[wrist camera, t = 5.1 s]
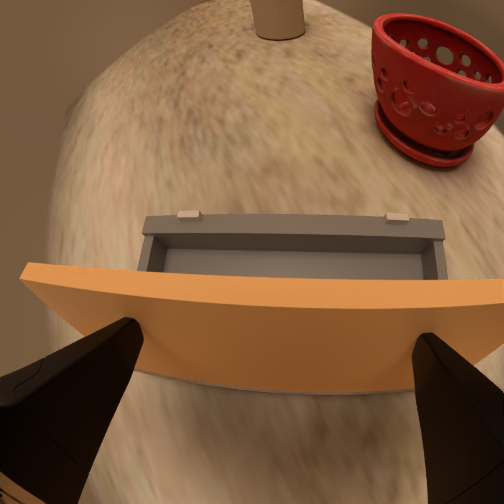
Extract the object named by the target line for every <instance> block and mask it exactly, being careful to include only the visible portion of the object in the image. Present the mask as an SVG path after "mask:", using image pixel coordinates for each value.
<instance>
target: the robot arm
mask: <svg viewBox="0 0 504 504" xmlns="http://www.w3.org/2000/svg"><path fill="white" fill-rule="evenodd" d="M143 342H144V336H143V333H142V330H141V327H140V324H139V323H138V322H137V321H136V320H135V319H134V318H129V317H123V318H121V319H119V320H117V321H115V322H113V323H111V324H109V325H108V326H106V327H104V328H102V329H100V330H98V331H96V332H94V333H92V334H90V335H88V336H86V337H84V338H82V339H80V340H78V341H76V342H74V343H72V344H70V345H68V346H66V347H64V348H62V349H60V350H58V351H56V352H54V353H52V354H50V355H48V356H46V357H45V358H42V359H40V360H38V361H36V362H34V363H32V364H30V365H28V366H26V367H24V368H21V369H19V370H17V371H14V372H12V373H9V374H7V375H4V376H2V377H0V504H78V501H79V499H80V496H81V493H82V490H83V488H84V485H85V483H86V480H87V478H88V475H89V472H90V470H91V467H92V465H93V462H94V460H95V458H96V455H97V453H98V450H99V448H100V446H101V443H102V441H103V439H104V436H105V434H106V432H107V429H108V427H109V425H110V423H111V420H112V418H113V416H114V414H115V411H116V409H117V407H118V405H119V403H120V400H121V398H122V396H123V394H124V392H125V390H126V388H127V385H128V383H129V381H130V379H131V376H132V374H133V371H134V368H135V365H136V362H137V359H138V357H139V354H140V351H141V348H142V346H143ZM412 366H413V375H414V386H415V397H416V404H417V410H418V415H419V421H420V428H421V434H422V441H423V449H424V457H425V467H426V478H427V493H428V504H504V393H503V391H502V390H501V389H500V388H499V387H497V386H496V385H495V384H494V383H493V382H492V381H491V380H489V379H488V378H487V377H486V376H485V375H484V374H483V373H481V372H480V371H479V370H478V369H477V368H475V367H474V366H473V365H472V364H471V363H470V362H468V361H467V360H466V359H465V358H464V357H462V356H461V355H460V354H459V353H458V352H456V351H455V350H454V349H453V348H452V347H450V346H449V345H448V344H447V343H445V342H444V341H443V340H442V339H440V338H439V337H438V336H437V335H436V334H434V333H433V332H430V333H422V334H420V336H419V337H418V338H417V341H416V343H415V346H414V349H413V352H412Z"/></svg>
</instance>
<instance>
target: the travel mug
mask: <svg viewBox="0 0 504 504" xmlns="http://www.w3.org/2000/svg"><path fill="white" fill-rule="evenodd" d="M250 2H251V7H252V12H253V17H254V22H255V27H256V32H257V34H258V35H259V36H260V37H263V38H267V39H275V40H283V39H290V38H294V37H297V36H299V35H301V34H303V33H304V32H305V24H304V13H303V2H302V0H250Z"/></svg>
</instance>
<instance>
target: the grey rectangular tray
mask: <svg viewBox="0 0 504 504" xmlns="http://www.w3.org/2000/svg"><path fill="white" fill-rule="evenodd" d="M142 234H143V235H144V236H145V238H144V242H143V246H142V251H141V255H140V260H139V265H138V269H137V271H145V272H161V273H179V274H198V275H219V276H242V277H269V278H302V279H349V280H448V276H447V268H446V260H445V253H444V247H443V241H444V240H445V233H444V228H443V223H442V220H430V219H413V218H409V216H408V214H403V213H386V214H385V216H384V217H372V216H343V215H296V214H218V215H202V214H201V212H200V211H178V215H171V216H146V219H145V223H144V227H143V231H142Z"/></svg>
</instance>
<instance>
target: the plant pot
mask: <svg viewBox="0 0 504 504" xmlns="http://www.w3.org/2000/svg"><path fill="white" fill-rule="evenodd" d="M421 38H423V39H426V40H427V41H428V45H427V46H426V47H420V46H418V40H419V39H421ZM401 40H406V43H407V44H406V47H405V48H404V47H403V46H401V45H400V44H399V43H400V41H401ZM441 46H444V47H446V48H448V49H449V50H450V51H451V52H452V54H453V57H454V60H453V62H452V63H451V64H445V63H443V62H441V61H440V60H439V59H438V57H437V55H436V50H437V48H439V47H441ZM413 52H414V53H415V54H414V53H413ZM371 53H372V68H373V74H374V84H375V89H376V93H377V96H378V99H377V100H376V103H375V117H376V120H377V123H378V125H379V127H380V129H381V130H382V132H383V133H384V135H385V136H386V137H387V138H388V139H389V141H390V142H391V143H392V144H393V145H395V146H396V147H397V148H398V149H399V150H401V151H402V152H404V153H405V154H407V155H408V156H410V157H412V158H414V159H416V160H418V161H421V162H423V163H426V164H429V165H434V166H441V167H449V166H455V165H458V164H461V163H463V162H464V161H465V160H467V159H468V158H469V157H470V155H471V153H472V151H473V148H474V143H475V142H476V141H477V140H479V139H480V138H481V137H482V136H483V135H484V134H485V133H486V132H487V131H488V130H489V129H490V128H491V126H492V125H493V124H494V122H495V121H496V120H497V118H498V116H499V115H500V113H501V111H502V109H503V107H504V63H503V62H502V61H501V60H500V59H499V58H498V57H497V56H496V55H495V54H494V53H493V52H492V51H491V50H490V49H488V48H487V47H486V46H485V45H483V44H482V43H481V42H479V41H478V40H476V39H475V38H473V37H472V36H470V35H468V34H467V33H465V32H463V31H461V30H459V29H457V28H455V27H453V26H450V25H448V24H446V23H443V22H440V21H438V20H435V19H431V18H427V17H423V16H419V15H412V14H387V15H383V16H381V17H379V18H377V19H376V20H375V21H374V23H373V27H372V49H371ZM462 55H467V56H468V57H469V58H470V60H471V64H470V66H466V65H464V64H463V62H462V59H461V58H462ZM424 57H429V58H430V59H431V62H429V61H427V60H425V59H423V58H424ZM460 70H463V71H464V72H465V73H466V75H467V77H464V76H461V75H459V74H458V72H459V71H460ZM477 71H478V72H479V73H480V74H481V79H480V80H478V79H477V78H476V72H477ZM489 76H491V78H492V83H491V84H490V83H489V82H488V78H489Z"/></svg>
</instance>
